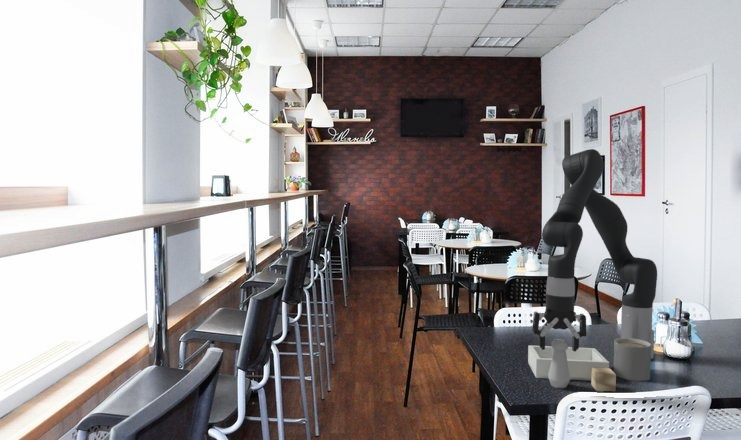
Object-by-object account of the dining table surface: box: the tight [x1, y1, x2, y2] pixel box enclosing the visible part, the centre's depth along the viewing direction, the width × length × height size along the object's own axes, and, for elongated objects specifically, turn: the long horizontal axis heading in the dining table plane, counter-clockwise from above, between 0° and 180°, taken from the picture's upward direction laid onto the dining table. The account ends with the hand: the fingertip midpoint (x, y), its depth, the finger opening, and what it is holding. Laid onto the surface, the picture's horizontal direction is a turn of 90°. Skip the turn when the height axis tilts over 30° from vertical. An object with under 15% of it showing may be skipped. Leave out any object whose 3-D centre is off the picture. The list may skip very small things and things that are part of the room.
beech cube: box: [590, 368, 617, 392], centre depth 147 cm, size 5×5×5 cm
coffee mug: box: [612, 337, 652, 382], centre depth 160 cm, size 13×10×10 cm
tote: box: [527, 345, 610, 382], centre depth 161 cm, size 20×14×6 cm
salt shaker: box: [547, 338, 571, 389], centre depth 149 cm, size 6×6×13 cm
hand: (558, 349), depth 149 cm, fingers open, 8 cm apart
